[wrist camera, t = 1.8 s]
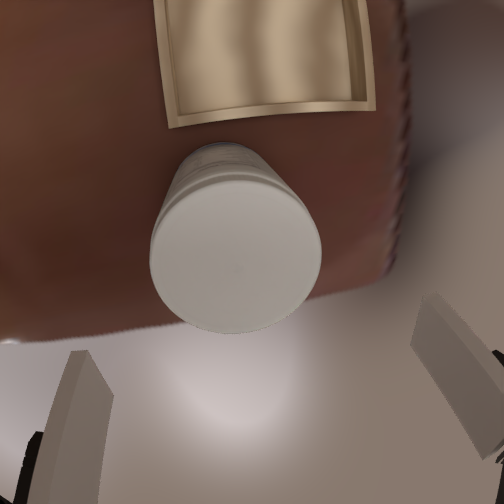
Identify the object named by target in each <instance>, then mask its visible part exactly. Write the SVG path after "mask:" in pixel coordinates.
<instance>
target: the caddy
mask: <svg viewBox="0 0 504 504" xmlns="http://www.w3.org/2000/svg"><path fill="white" fill-rule="evenodd" d="M153 1H154V12H155V23H156V33H157V42H158V51H159V60H160V68H161V76H162V84H163V92H164V99H165V106H166V113H167V120H168V126H169V129H170V128H176V127H181V126H187V125H193V124H200V123H206V122H213V121H220V120H228V119H236V118H244V117H253V116H263V115H275V114H287V113H302V112H323V111H376V103H375V84H374V69H373V57H372V46H371V37H370V28H369V20H368V13H367V6H366V0H153Z"/></svg>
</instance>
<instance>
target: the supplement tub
mask: <svg viewBox="0 0 504 504" xmlns="http://www.w3.org/2000/svg"><path fill="white" fill-rule="evenodd" d="M320 265H321V242H320V237H319V234H318V231H317V228H316V226H315V223H314V222H313V220H312V218H311V216H310V213H309V212H308V210H307V208H306V207H305V205H304V204H303V202H302V201H301V200H300V199H299V197H298V196H297V195H296V194H295V193H294V192H293V191H292V190H291V188H290V187H289V186H288V185H287V184H286V183H285V182H284V181H283V180H282V179H281V178H280V177H279V176H278V175H277V173H276V172H275V171H274V170H273V169H272V168H271V167H270V166H269V165H268V164H267V163H266V162H265V161H264V160H263V159H262V158H261V157H260V156H259V155H258V154H257V153H256V152H254V151H253V150H251V149H249V148H247V147H245V146H243V145H240V144H236V143H230V142H218V143H212V144H209V145H206V146H203V147H201V148H199V149H197V150H196V151H194V152H193V153H191V154H190V155H189V156H188V157H187V158H186V159H185V160H184V161H183V162H182V163H181V165H180V166H179V168H178V170H177V172H176V174H175V176H174V178H173V180H172V183H171V185H170V188H169V190H168V192H167V195H166V197H165V200H164V202H163V205H162V207H161V210H160V212H159V215H158V218H157V220H156V223H155V226H154V229H153V233H152V237H151V245H150V272H151V276H152V280H153V283H154V286H155V288H156V290H157V292H158V294H159V296H160V297H161V299H162V300H163V302H164V303H165V304H166V305H167V307H168V308H169V309H170V310H171V311H172V312H173V313H175V314H176V315H177V316H178V317H180V318H181V319H182V320H184V321H186V322H187V323H189V324H191V325H193V326H196V327H198V328H201V329H204V330H207V331H211V332H216V333H223V334H239V333H247V332H253V331H257V330H260V329H263V328H266V327H269V326H271V325H273V324H275V323H277V322H279V321H281V320H282V319H284V318H285V317H287V316H288V315H289V314H291V313H292V312H293V311H294V310H296V309H297V308H298V307H299V306H300V305H301V304H302V302H303V301H304V300H305V299H306V298H307V296H308V295H309V293H310V291H311V290H312V288H313V286H314V284H315V282H316V279H317V277H318V274H319V270H320Z"/></svg>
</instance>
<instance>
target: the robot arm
mask: <svg viewBox="0 0 504 504" xmlns="http://www.w3.org/2000/svg"><path fill="white" fill-rule="evenodd" d="M410 345H411V347H412V348H413V350H414V351H415V353H416V354H417V356H418V357H419V359H420V360H421V362H422V363H423V364H424V366H425V367H426V369H427V371H428V372H429V374H430V375H431V377H432V378H433V380H434V381H435V382H436V384H437V385H438V387H439V389H440V390H441V392H442V394H443V395H444V396H445V398H446V400H447V401H448V403H449V405H450V406H451V408H452V409H453V411H454V413H455V414H456V416H457V417H458V419H459V421H460V422H461V424H462V426H463V427H464V429H465V431H466V432H467V434H468V436H469V437H470V439H471V441H472V443H473V444H474V446H475V448H476V449H477V451H478V453H479V455H480V457H481V458H482V460H485V459H487V458H488V457H490V456H491V455H493V454H494V453H496V452H497V451H498V450H499V449H500V448H501V447H502V446H503V445H504V354H502V353H501V352H499V351H497V350H494V351H492V352H491V351H490V350H489V349H488V348H487V346H486V345H485V344H484V343H483V342H482V340H481V339H480V338H479V337H478V336H477V335H476V334H475V332H474V331H473V330H472V329H471V328H470V327H469V326H468V325H467V323H466V322H465V321H464V320H463V319H462V318H461V317H460V316H459V315H458V313H457V312H456V311H455V310H454V309H453V308H452V307H451V306H450V305H449V304H448V303H447V302H446V301H445V299H444V298H443V297H442V296H441V295H440V294H439V293H438V292H434V293H430V294H427V295H423V296H422V301H421V305H420V310H419V313H418V318H417V321H416V325H415V329H414V333H413V336H412V340H411V343H410ZM113 397H114V395H113V393H112V391H111V390H110V388H109V387H108V385H107V383H106V381H105V380H104V378H103V377H102V375H101V373H100V371H99V370H98V368H97V366H96V364H95V362H94V361H93V359H92V357H91V355H90V354H89V352H88V350H86V351H85V350H84V351H71V354H70V356H69V359H68V362H67V364H66V367H65V370H64V373H63V375H62V378H61V381H60V384H59V387H58V389H57V392H56V395H55V398H54V401H53V405H52V408H51V411H50V414H49V417H48V420H47V424H46V427H45V430H44V432H38V431H36V432H35V434H34V435H33V437H32V438H31V439H30V441H29V442H28V445H27V449H26V452H25V457H24V460H23V467H22V468H21V471H20V475H19V480H18V484H17V489H16V493H15V498H14V501H13V504H97V503H98V495H99V486H100V477H101V470H102V461H103V455H104V449H105V442H106V436H107V429H108V424H109V419H110V413H111V408H112V403H113ZM503 457H504V451H503V452H502V453H501V454H500V455H499V456H498V457H497V460H496V462H495V463H498V462H499V461H500V460H501V459H502V458H503ZM501 464H503V468H502V473H501V479H500V484H499V489H498V494H497V499H496V503H495V504H504V459H503V461H502V462H501ZM0 504H12V503H11V502H9V501H8V500H6V499H5V498H3V497H2V496H1V495H0Z"/></svg>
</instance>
